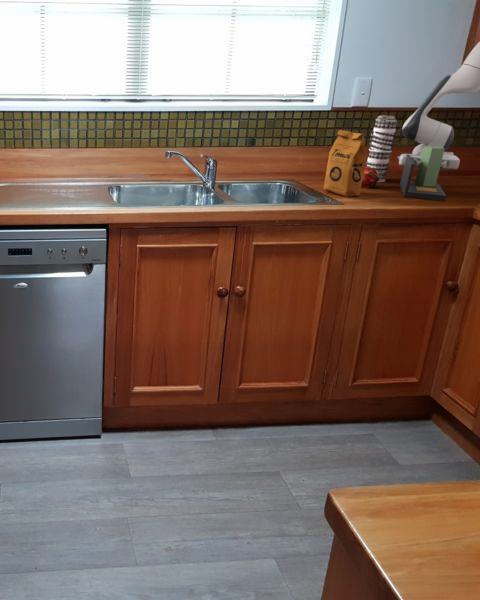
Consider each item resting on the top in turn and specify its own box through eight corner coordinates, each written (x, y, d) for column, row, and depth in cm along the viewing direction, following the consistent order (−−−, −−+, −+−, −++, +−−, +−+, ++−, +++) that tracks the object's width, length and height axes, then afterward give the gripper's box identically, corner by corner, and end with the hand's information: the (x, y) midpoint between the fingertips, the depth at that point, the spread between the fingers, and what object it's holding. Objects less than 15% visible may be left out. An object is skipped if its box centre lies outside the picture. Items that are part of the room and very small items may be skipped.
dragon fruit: (350, 186, 242) (374, 197, 232) (341, 175, 236) (365, 186, 227) (365, 168, 240) (389, 179, 231) (356, 157, 235) (380, 167, 226)
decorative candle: (391, 182, 243) (405, 117, 233) (370, 182, 242) (383, 117, 232) (377, 177, 251) (390, 114, 242) (357, 177, 250) (369, 114, 240)
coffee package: (342, 198, 215) (354, 134, 207) (318, 190, 226) (329, 129, 218) (364, 196, 219) (377, 133, 210) (339, 189, 229) (351, 129, 221)
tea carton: (427, 183, 232) (436, 146, 227) (435, 186, 227) (444, 148, 222) (414, 183, 232) (423, 146, 226) (423, 186, 227) (432, 148, 222)
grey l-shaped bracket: (437, 188, 233) (445, 157, 228) (444, 201, 214) (453, 166, 209) (399, 185, 237) (406, 154, 233) (403, 197, 219) (411, 163, 214)
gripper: (398, 148, 240) (401, 153, 228) (457, 152, 233) (463, 158, 221) (395, 164, 242) (397, 170, 231) (453, 169, 235) (459, 175, 224)
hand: (430, 164), depth 226 cm, fingers closed on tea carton, 6 cm apart
